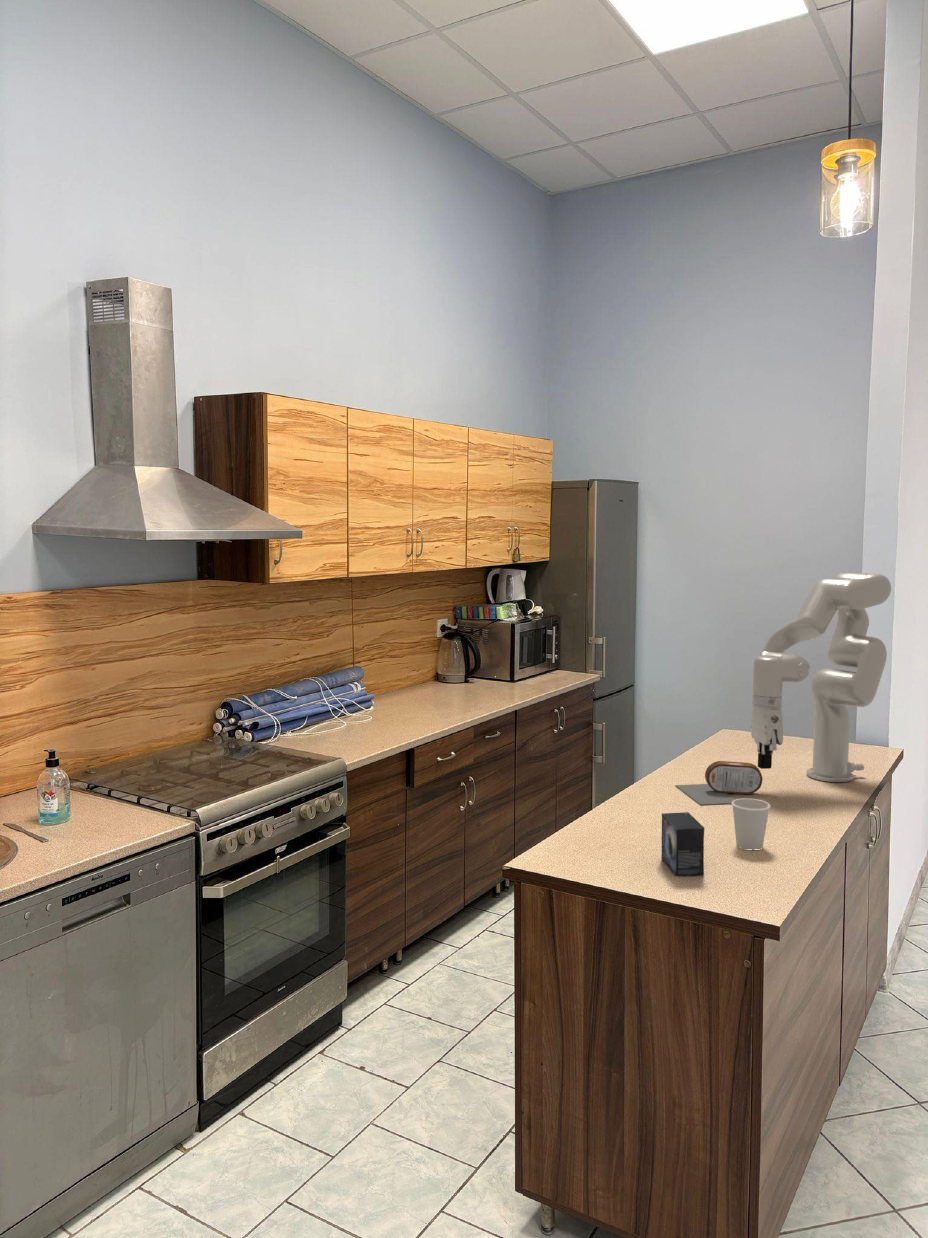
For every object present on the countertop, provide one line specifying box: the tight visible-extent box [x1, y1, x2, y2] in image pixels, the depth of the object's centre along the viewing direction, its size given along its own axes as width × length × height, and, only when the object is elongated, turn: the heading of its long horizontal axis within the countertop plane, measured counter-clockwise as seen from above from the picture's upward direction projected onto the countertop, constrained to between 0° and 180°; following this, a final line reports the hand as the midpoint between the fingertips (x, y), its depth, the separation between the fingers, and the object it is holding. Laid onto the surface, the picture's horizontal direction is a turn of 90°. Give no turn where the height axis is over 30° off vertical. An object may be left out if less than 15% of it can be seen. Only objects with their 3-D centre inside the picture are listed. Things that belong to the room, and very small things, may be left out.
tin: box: [704, 760, 763, 795], centre depth 246 cm, size 15×3×8 cm, turn 84°
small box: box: [660, 811, 705, 877], centre depth 192 cm, size 11×6×10 cm, turn 5°
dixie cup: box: [731, 797, 771, 850], centre depth 204 cm, size 8×8×10 cm
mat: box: [674, 783, 736, 806], centre depth 245 cm, size 11×18×1 cm, turn 8°
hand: (764, 767), depth 247 cm, fingers closed
